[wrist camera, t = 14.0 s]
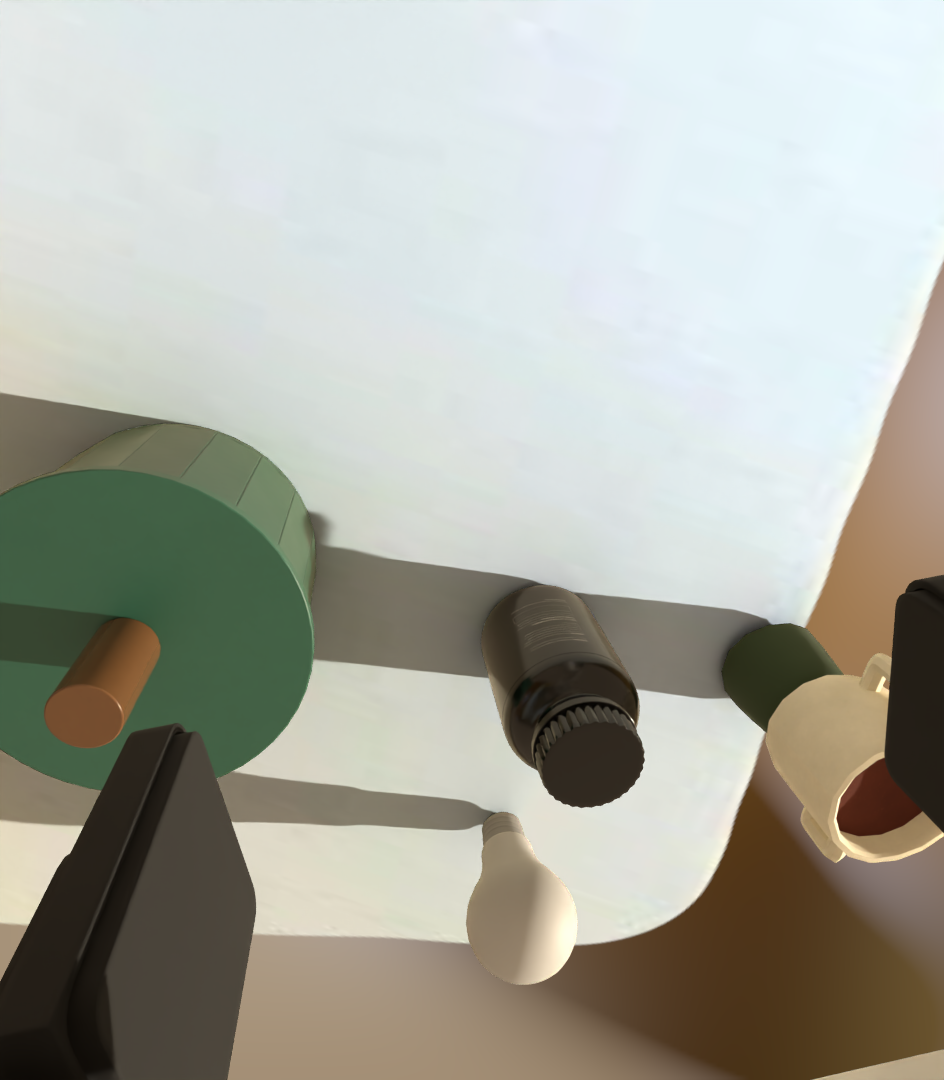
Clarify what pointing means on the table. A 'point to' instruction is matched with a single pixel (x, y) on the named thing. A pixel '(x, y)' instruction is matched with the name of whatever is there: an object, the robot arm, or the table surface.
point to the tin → (218, 480)
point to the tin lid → (142, 621)
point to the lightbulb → (518, 908)
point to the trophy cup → (828, 742)
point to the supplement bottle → (563, 695)
